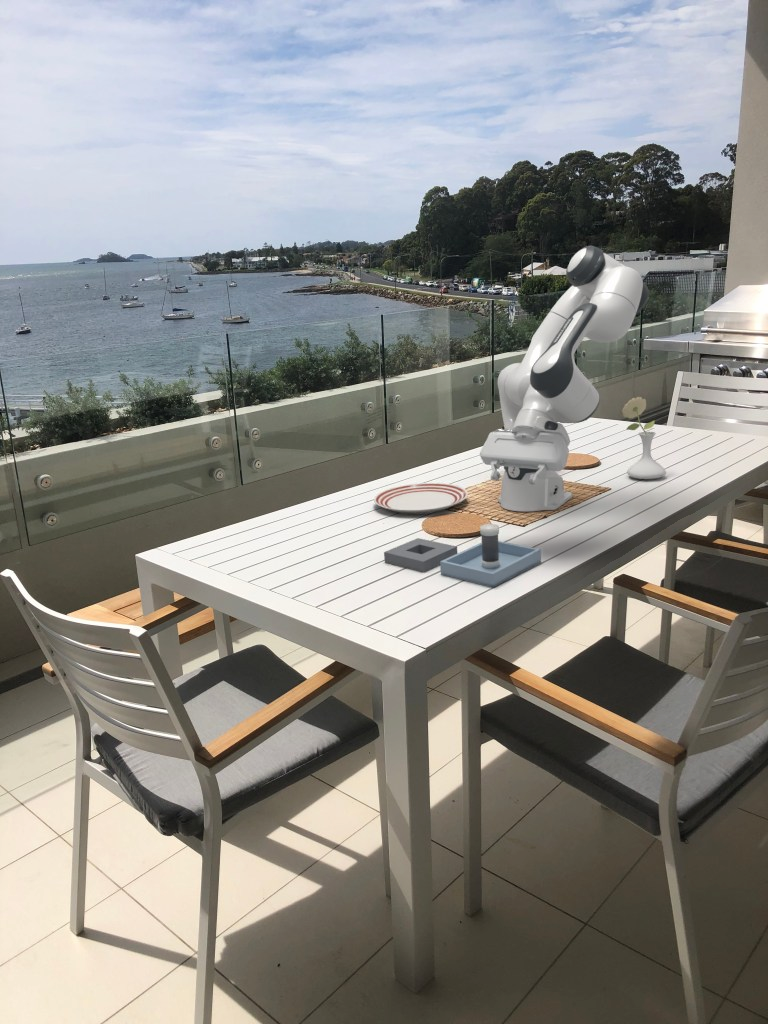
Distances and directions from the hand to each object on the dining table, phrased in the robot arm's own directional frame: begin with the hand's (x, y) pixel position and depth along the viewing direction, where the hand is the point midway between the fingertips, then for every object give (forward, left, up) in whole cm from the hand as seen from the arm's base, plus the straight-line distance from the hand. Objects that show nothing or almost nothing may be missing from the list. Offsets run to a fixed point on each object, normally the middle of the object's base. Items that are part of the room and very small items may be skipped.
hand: (513, 481), depth 170 cm
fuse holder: (+14, -16, -17) cm, 28 cm away
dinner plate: (-22, -47, -18) cm, 55 cm away
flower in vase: (-79, -6, -18) cm, 81 cm away
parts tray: (+10, +1, -17) cm, 20 cm away
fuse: (+10, +1, -17) cm, 20 cm away
